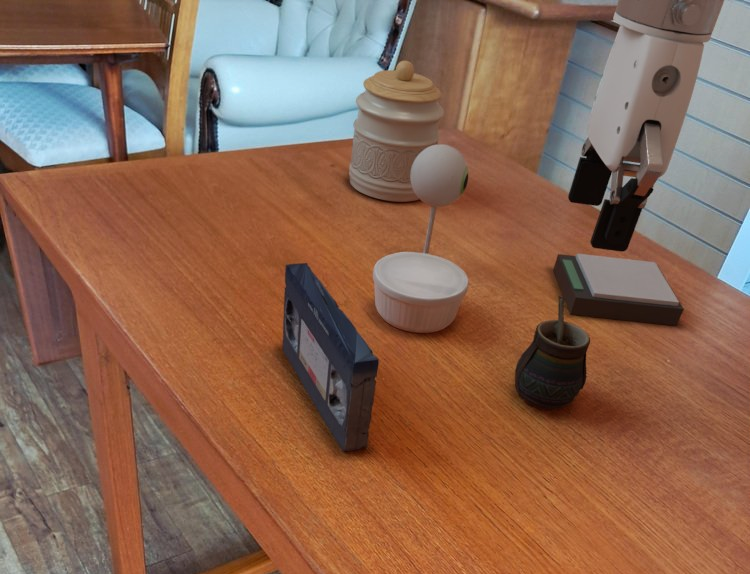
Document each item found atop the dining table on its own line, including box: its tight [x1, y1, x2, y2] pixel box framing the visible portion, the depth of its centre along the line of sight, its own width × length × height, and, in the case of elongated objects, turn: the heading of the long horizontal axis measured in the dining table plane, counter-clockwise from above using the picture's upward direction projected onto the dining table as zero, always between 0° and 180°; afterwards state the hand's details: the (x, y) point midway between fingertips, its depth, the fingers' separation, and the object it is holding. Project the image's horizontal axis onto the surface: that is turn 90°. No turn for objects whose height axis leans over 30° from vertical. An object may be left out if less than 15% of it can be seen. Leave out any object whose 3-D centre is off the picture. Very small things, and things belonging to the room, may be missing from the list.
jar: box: [348, 60, 445, 203], centre depth 117 cm, size 13×13×18 cm
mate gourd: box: [514, 295, 591, 411], centre depth 81 cm, size 7×8×10 cm
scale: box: [552, 252, 685, 327], centre depth 103 cm, size 14×12×3 cm
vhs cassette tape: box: [282, 262, 380, 452], centre depth 76 cm, size 18×3×10 cm, turn 22°
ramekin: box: [372, 251, 469, 334], centre depth 93 cm, size 11×11×5 cm
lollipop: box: [410, 143, 469, 254], centre depth 100 cm, size 7×7×15 cm
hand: (595, 224), depth 72 cm, fingers open, 9 cm apart
